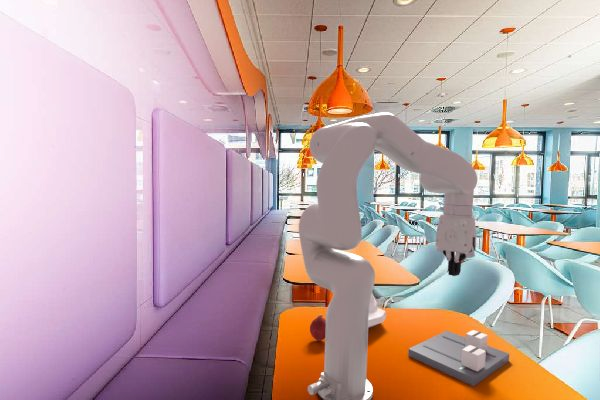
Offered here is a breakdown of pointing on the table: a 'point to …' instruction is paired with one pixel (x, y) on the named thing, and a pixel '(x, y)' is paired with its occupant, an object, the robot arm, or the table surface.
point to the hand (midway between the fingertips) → (453, 274)
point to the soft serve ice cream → (375, 313)
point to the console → (456, 357)
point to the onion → (318, 328)
